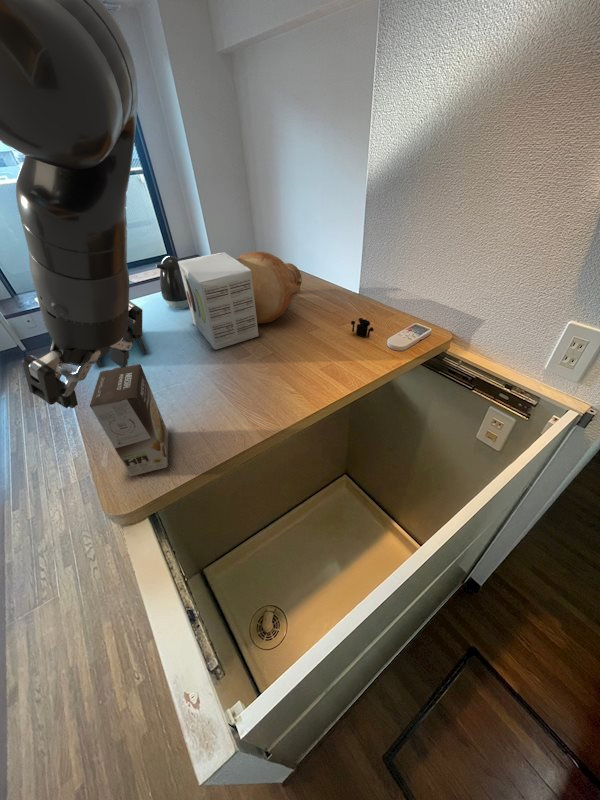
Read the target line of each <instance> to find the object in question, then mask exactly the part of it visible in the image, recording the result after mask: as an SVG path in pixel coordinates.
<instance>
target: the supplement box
mask: <svg viewBox="0 0 600 800" xmlns="http://www.w3.org/2000/svg"><path fill="white" fill-rule="evenodd" d="M178 264H179V267H180V271H181V275H182V279H183V283H184V287H185V291H186V295H187V298H188V302H189V310H190V314H191V318H192V322H193V324H194V325H195V327H196V328H197V329H198V330H199V332H201V335H203V337H204V339H205V340H207V342H208V343H209V344H210V346H211V347H212V348H213V350H220V349H223V348H227V347H229V346H233V345H236V344H238V343H242V342H245V341H248V340H251V339H254V338H259V336H260V335H259V326H258V323H257V317H256V308H255V300H254V291H253V283H252V274H251V270H250V269H249V268H247V267H246V266H244V265H243V264H241V263H240V262H239V261H237V260H236V258H234V257H232V256H231V255H229V254H228V253H226V252H225V251H223V252H218V253H214V254H213V253H212V254H207V255H202V256H197V257H193V258H188V259H183V260H180V261H178Z"/></svg>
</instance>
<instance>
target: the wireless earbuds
mask: <svg viewBox="0 0 600 800" xmlns="http://www.w3.org/2000/svg"><path fill="white" fill-rule="evenodd" d="M358 322H359V323H357V324H356V321H355V320H351V321H350V324H351V325H352V328H351V329H352V330H351V331H352V333H354V331H355V324H356V331H355V334H356V335H357V336H359V337H362V338H366V337H367V338H368V339H369V338H370V332H374V331H375V330H374V327H373V326H371V322H370V321H369V320H368V319H364V318H362V317H359V318H358ZM370 326H371V327H370ZM369 327H370V328H369Z"/></svg>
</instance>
